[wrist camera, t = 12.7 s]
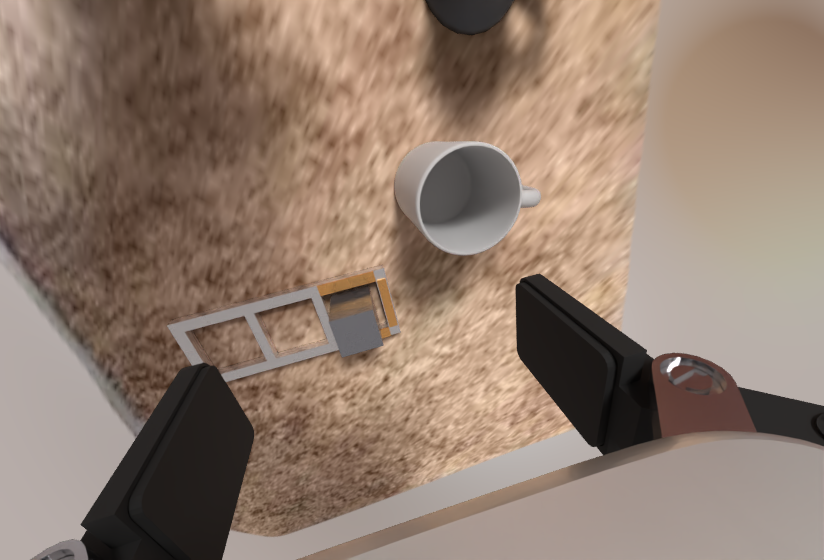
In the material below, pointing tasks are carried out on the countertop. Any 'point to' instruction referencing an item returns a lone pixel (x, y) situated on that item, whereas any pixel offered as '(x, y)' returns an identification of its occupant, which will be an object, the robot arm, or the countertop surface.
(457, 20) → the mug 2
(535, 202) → the mug
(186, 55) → the countertop surface
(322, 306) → the grey flat frame
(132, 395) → the countertop surface
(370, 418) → the countertop surface
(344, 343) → the grey rectangular block
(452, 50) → the countertop surface
